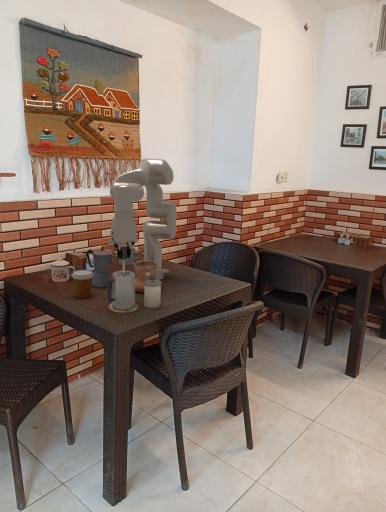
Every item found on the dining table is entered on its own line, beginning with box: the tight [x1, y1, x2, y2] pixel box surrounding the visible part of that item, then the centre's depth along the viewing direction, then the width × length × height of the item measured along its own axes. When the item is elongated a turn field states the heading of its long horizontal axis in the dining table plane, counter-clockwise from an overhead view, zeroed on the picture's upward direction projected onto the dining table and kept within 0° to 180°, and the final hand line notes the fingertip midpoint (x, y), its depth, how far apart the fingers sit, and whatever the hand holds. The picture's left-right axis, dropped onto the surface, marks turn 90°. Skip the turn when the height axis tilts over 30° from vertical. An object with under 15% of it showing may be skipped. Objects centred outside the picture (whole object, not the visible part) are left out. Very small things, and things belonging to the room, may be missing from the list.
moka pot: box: [85, 246, 115, 288], centre depth 199 cm, size 10×15×20 cm, turn 78°
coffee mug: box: [117, 244, 141, 266], centre depth 244 cm, size 13×10×10 cm
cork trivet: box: [108, 302, 139, 313], centre depth 173 cm, size 13×13×1 cm
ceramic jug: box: [133, 259, 158, 294], centre depth 195 cm, size 18×14×14 cm
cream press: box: [143, 273, 162, 309], centre depth 175 cm, size 8×8×16 cm
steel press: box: [106, 270, 136, 311], centre depth 171 cm, size 12×10×15 cm
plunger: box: [121, 245, 127, 275], centre depth 169 cm, size 3×3×18 cm
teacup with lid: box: [50, 257, 76, 283], centre depth 206 cm, size 12×9×12 cm
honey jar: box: [71, 269, 94, 299], centre depth 183 cm, size 10×10×12 cm
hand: (123, 257), depth 168 cm, fingers closed on plunger, 3 cm apart
